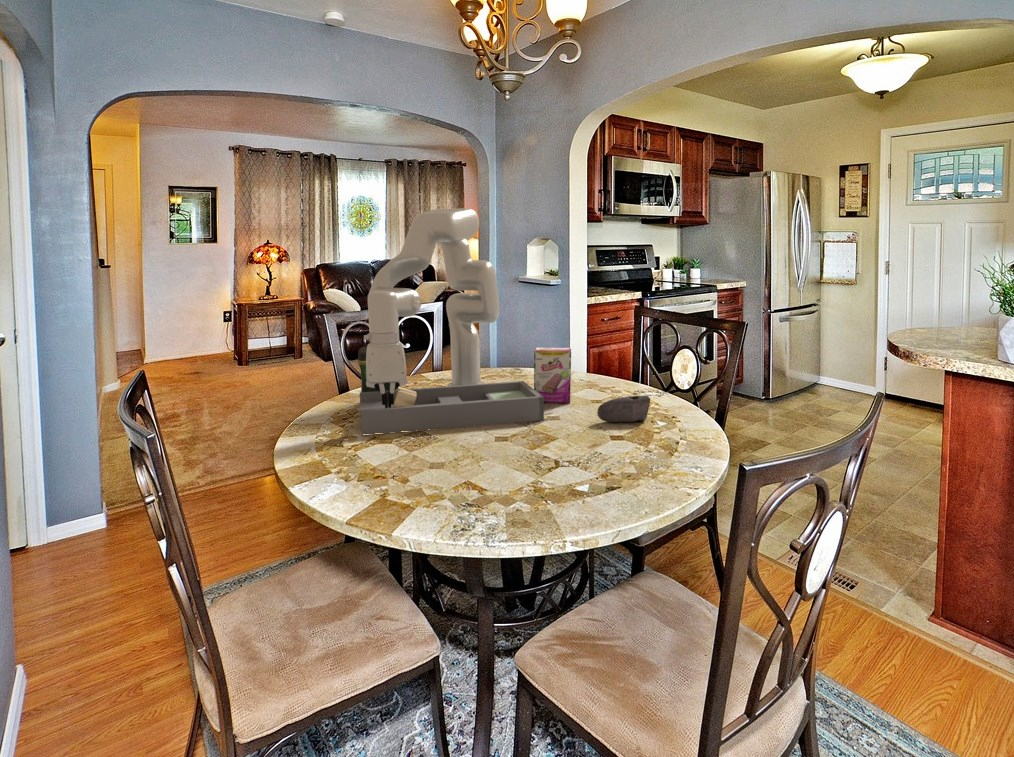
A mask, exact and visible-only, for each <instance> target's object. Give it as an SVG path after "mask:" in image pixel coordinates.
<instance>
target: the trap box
mask: <svg viewBox="0 0 1014 757" xmlns="http://www.w3.org/2000/svg"><path fill="white" fill-rule="evenodd" d="M407 389H408V390H412V391H415V392H416V394H417V397H416V400H415V403H414V406H406V407H393V404H391V408H389V407H388V408H385V405H382V394H381V392H379V391H374V392H359V406H360V407H359V408H360V422H361V432H362V433H361V434H362V435H363V434H375V433H390V432H401V431H414V432H417V431H416V430H426V431H432V430H431V429H438V430H447V428H449V429H460V428H469V427H470V428H471V427H480V426H481V427H482V426H493V425H503V424H505V425H506V424H517V423H518V424H519V423H529V422H538V421H539V422H540V421H541V422H542V421H544V420H545V405H544V404H545V403H544V397H543V396H542V395H540V394H539V393H538V392H537V391H535V390H534V387H532V386H530V385H529V384H528V383H527V382H525V381H524V380H517V381H504V382H490V383H488V382H487V383H485V384H473V385H459V386H448V385H446V386H433V387H432V386H431V387H419V388H407ZM386 392H388V391H386ZM396 392H397V389H396V390H395V391H394V393H393V398H394V399H395V395H396ZM387 397H388V393H387ZM428 429H430V430H428ZM362 435H361V436H362Z"/></svg>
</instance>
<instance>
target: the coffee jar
mask: <svg viewBox="0 0 1014 757" xmlns="http://www.w3.org/2000/svg"><path fill="white" fill-rule="evenodd" d="M366 352H367V346H362V347H360V348H358V352H357V364H358V366H359V369H360V378H361V382H360V383H361V392H374V391H378V390H377V389H376V388H372V387H367V386H366V382H367V375H366ZM378 384H379V383H378ZM389 387H390V383H384V388H385V390H386V391H388V390H389Z"/></svg>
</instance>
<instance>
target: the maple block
mask: <svg viewBox="0 0 1014 757" xmlns="http://www.w3.org/2000/svg"><path fill="white" fill-rule="evenodd" d="M408 389H409V388H404V387H402V386H399V387H398V388H397V389H396V390H397V392H396V395H395V399H394V404H393V407H406V406H414V403H415V400H416V397H417V394H416V392H415V391H412V390H408Z"/></svg>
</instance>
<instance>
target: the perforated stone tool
mask: <svg viewBox="0 0 1014 757" xmlns="http://www.w3.org/2000/svg"><path fill="white" fill-rule="evenodd" d="M650 406H651V398H650V396H649V395H634V396H633V395H631V396H623V397H617V398H612V399H611V400H607V401H605V402H602V403H601V404H600V405H599V406H598V408H597V417H598V418H599V419H600V420H602V421H603V422H606V423H619V422H620V423H621V422H622V424H623V422H624V423H635V422H636V421H639V422H643V421H646V419H647V418H648V413H649V409H650Z"/></svg>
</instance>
